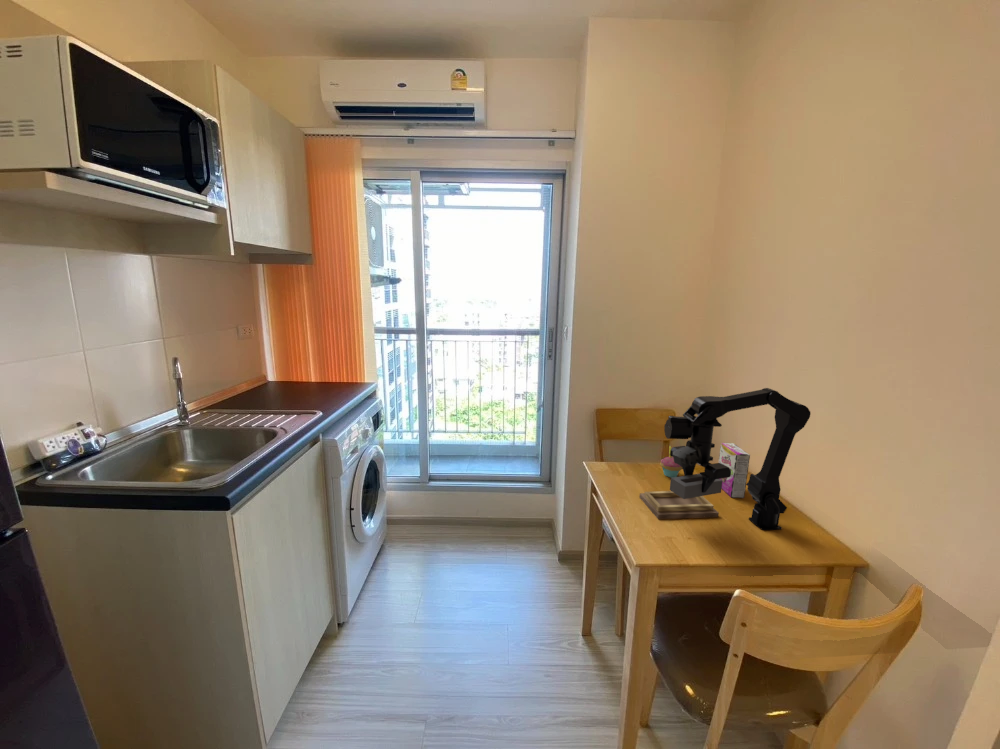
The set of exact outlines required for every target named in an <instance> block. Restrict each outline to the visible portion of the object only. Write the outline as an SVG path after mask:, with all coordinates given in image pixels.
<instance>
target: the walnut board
mask: <svg viewBox="0 0 1000 749" xmlns="http://www.w3.org/2000/svg"><path fill="white" fill-rule="evenodd" d="M639 499H640V500H641V501H642V502H643V503H644V505H645V506H646V507H647V508H648V509H649V510H650V512H651V513H652V514H653V515H654V517H656V519H657V520H666V519H667V520H668V519H670V520H671V519H672V520H673V519H699V518H700V519H701V518H703V519H704V518H719V515H720V513H719V511H717V510H716V509H715V508H714V506H715V505H714V504H712V503H711V502H710V501H709V500H708V499H707V498H706V497H704V496H699V497H693V498H687V499H683V498H681V497H680V496H678V495H677V494H675V493H674V492H672V491H671V490H661V491H644V492H642V493H639Z"/></svg>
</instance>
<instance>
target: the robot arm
mask: <svg viewBox="0 0 1000 749" xmlns="http://www.w3.org/2000/svg"><path fill="white" fill-rule="evenodd" d="M767 405H769V406H770V407H771V408H773V409H775V412H774V422H775V423H774V424H775V430H774V433H773V436H772V439H771V442H770V444H769V447H768V450H767V451H766V455H765V458H764V461H763V463H762V467H761V469H760V471H759V472H757V473H756V474H753V473H750V475H749V480H748V482H746V486H747V491H748V493H749V495H750V496H751V498H752V500H754V501H755V503H754V506H753V509H752V512H751V517H748V520H749V521H750V522H752V524H753V525H756V526H757V527H758V528H759V529H760V530H762V531H772V530H773V531H774V530H775V531H776V530H778V531H779V530H780V531H781V530H782V529H783V527H782V526H781V525H779V521H780V516H781V514H784V513H785V512H786V510H787V508H788V507H787V505H785V504H784V503H783V502H782V500H780V496H781V484H780V476H781V473H782V470H783V468H784V466H785V463H786V460H787V457H788V455H789V452H790V449H791V447H792V444H793V441H794V439H795V436H796V434H797V433H798V432H800V431H801V430H802V429H804V428H805V426H806V425H807V423H808V421H809V420H810V419H811V418H810V417H811V410H810V409H809V408H808V406H806V405H804V404H801V403H799V402H796V401H793V400H791V399H789V398H788V397H786V396H784V395H782V394H781V393H780V392H778V391H777V390H775V389H773V388H769V387H764V388H762V389H758V390H753V391H748V392H742V393H738V394H730V395H727V396H715V395H713V396H712V395H711V396H710V395H705V396H704V395H702V396H698V397H696V398H694V400H693V401H692V403H691V405H690V406H689V407H688V408H687V409H686V411H684V413H683V414H682V416H675V415H669V416H668V419H667V420H665V421H666V422H665V424H664V427H663V429H664V435H665V438H666V439H667V440H668V439H669V440H670V439H672V440H673V439H674V440H687V441H686V444H685V445H679V446H673V447H671V450H670V456H671V457H673V459H674V463H677V464H679V465H680V466H681V467H682V468H683V469H682V471H683V476H687V475H693V474H694V471H695V468H696V465H699V466H701V467H703V468H704V471H702V472H699V474H701V475H702V477H703V478H702V492H703V493H704V492H706V491H707V490H708V488H709V487H710V486H711V484H712V483H713V482H714V481H715V479H721V478H727V477H730V476H731V469H730V468H729V467H727V466H725V465H723V464H721V463H719V462H716V463H715V462H714V463H710V462H711V461H712V462H713V461H714V457H713V456H711V454H712V453H711V452H712V449H714V448H715V444H716V443H713V435H714V433H713V432H714V427H715V428H716V427H717V428H719V427H722V423H721V422H720V421H719V420H718V419H719V418H720V417H724V415H726V414H727V413H730V412H733V411H739V410H745V409H750V408H755V407H756V408H757V407H761V406H767ZM695 415H697V416H695ZM689 439H690V440H689ZM670 456H669V457H670Z"/></svg>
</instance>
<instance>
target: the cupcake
mask: <svg viewBox="0 0 1000 749" xmlns="http://www.w3.org/2000/svg"><path fill="white" fill-rule="evenodd" d="M668 449H669V450H668V451H669V456H665V457H663V458H661V459H660V463H659V466H660V467H662V468H661V469H662V471H663V475H664V476H666V477H668V478H674V477H678V476H679V473H680V471H683V468H682V467H681V466H680V465H679V464H677V463H674V459H673V457H672V456H670V450H671V449H672V446H671V445H669V447H668Z"/></svg>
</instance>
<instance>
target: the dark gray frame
mask: <svg viewBox="0 0 1000 749" xmlns="http://www.w3.org/2000/svg"><path fill="white" fill-rule="evenodd" d="M702 478H703V477H702V475H701V474H700V473H695V474H694V473H693V475H687V476H685V475H682V476H677V477H670V484H669V491H672V492H674V493H675V494H677V495H678V496H680V497H681V498H683V499H687V498H693V497H699V496H703V497H704V496H710V495H716V494H722V490H723V489H722V480H721V479H715V481H714V482H713V483H712V484H711V486H710V487H709V488H708V490H707V491H706V492H704V493H703V492H702Z"/></svg>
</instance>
